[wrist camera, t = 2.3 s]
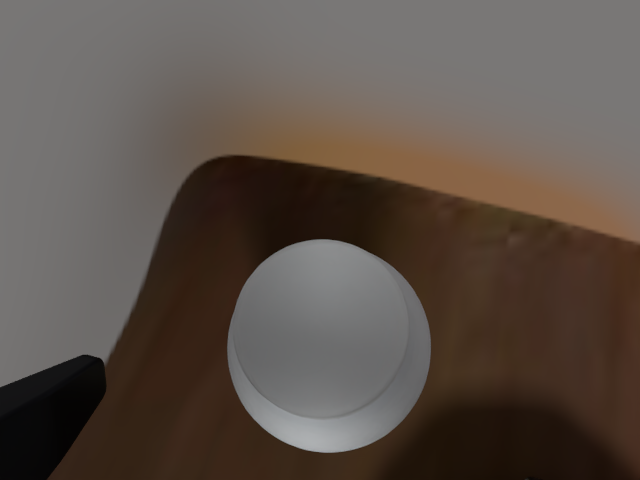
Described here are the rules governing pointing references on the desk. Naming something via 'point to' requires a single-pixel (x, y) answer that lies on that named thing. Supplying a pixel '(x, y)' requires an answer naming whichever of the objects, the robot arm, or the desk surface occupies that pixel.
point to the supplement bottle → (328, 346)
